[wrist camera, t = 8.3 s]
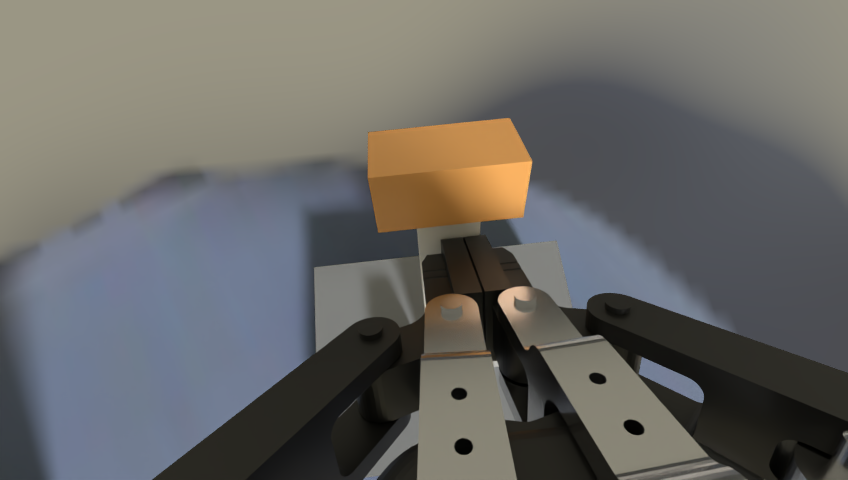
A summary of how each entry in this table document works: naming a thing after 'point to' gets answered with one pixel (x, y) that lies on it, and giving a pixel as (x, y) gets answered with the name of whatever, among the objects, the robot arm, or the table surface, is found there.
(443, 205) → the lever
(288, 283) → the table surface
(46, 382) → the table surface
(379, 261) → the block
